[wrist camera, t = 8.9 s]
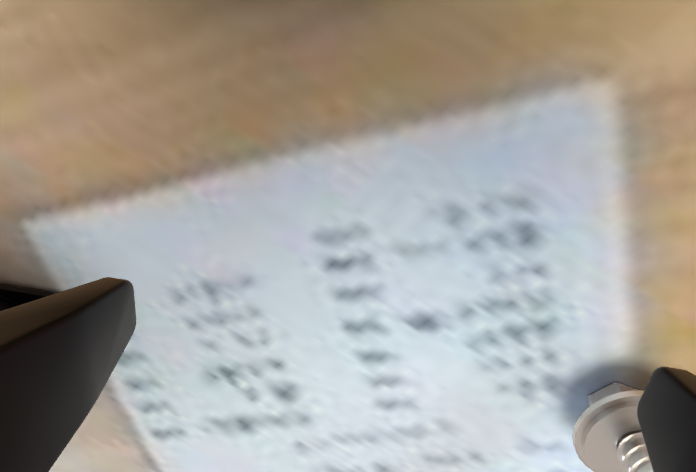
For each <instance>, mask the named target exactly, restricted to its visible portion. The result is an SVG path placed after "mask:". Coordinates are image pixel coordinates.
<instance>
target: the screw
mask: <svg viewBox="0 0 696 472" xmlns="http://www.w3.org/2000/svg"><path fill="white" fill-rule="evenodd" d="M643 392H644V390H638V389H635V388H632V387H629V386H626V385H623V384H620V383H617V382H614V383H612V384H610V385H608V386H606V387H604V388H603V389H601V390H599V391H597V392H595V393H593V394H591V395H589V396H588V408H587V409H586V410H585V411H584V412H583V413H582V414H581V416H580V417H579V418H578V420H577V422H576V424H575V426H574V429H573V436H572V438H573V445H574V448H575V450H576V452H577V454H578V456H579V458H580V460H581V461H582V462H583V463H584V464H585V465H586V466H587V467H588V468H590V469H591V470H593V471H594V472H653V469H652V465H651V462H650V458H649V455H648V452H647V448H646V445H645V442H644V438H643V435H642V431H641V428H640V425H639V421H638V417H637V407H638V403H639V400H640V398H641V396H642V394H643Z"/></svg>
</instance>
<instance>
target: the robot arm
mask: <svg viewBox="0 0 696 472" xmlns="http://www.w3.org/2000/svg"><path fill="white" fill-rule="evenodd" d="M135 325H136V313H135V300H134V289H133V285H132V283H131V282H129V281H128V280H123V279H117V278H111V277H106V278H103V279H99V280H96V281H93V282H90V283H87V284H84V285H81V286H78V287H75V288H72V289H68V290H65V291H62V292H59V293H53V292H49V291H43V290H37V289H31V288H24V287H18V286H12V285H6V284H0V472H48V471H49V470H50V469H51V467H52V466H53V464H54V463H55V461H56V460H57V458H58V457H59V456H60V454H61V453H62V451H63V450H64V448H65V447H66V445H67V444H68V443H69V441H70V440H71V438H72V437H73V435H74V434H75V432H76V431H77V430H78V428H79V427H80V425H81V424H82V422H83V421H84V419H85V418H86V416H87V415H88V413H89V412H90V410H91V409H92V407H93V405H94V404H95V402H96V400H97V399H98V397H99V395H100V393H101V392H102V390H103V388H104V386H105V384H106V382H107V381H108V379H109V377H110V375H111V373H112V371H113V369H114V368H115V366H116V364H117V362H118V360H119V358H120V357H121V355H122V353H123V351H124V349H125V347H126V346H127V344H128V342H129V340H130V338H131V336H132V334H133V332H134V329H135ZM637 417H638V421H639V425H640V428H641V431H642V435H643V438H644V442H645V445H646V448H647V452H648V455H649V458H650V462H651V465H652V469H653V472H696V376H695V375H693V374H692V373H690V372H688V371H686V370H682V369H676V368H669V367H659V368H657V369H656V370H655V371H654V372H653V374H652V376H651V378H650V380H649V382H648V384H647V386H646V388H645V390H644V392H643V394H642V396H641V398H640V400H639V403H638V407H637Z"/></svg>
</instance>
